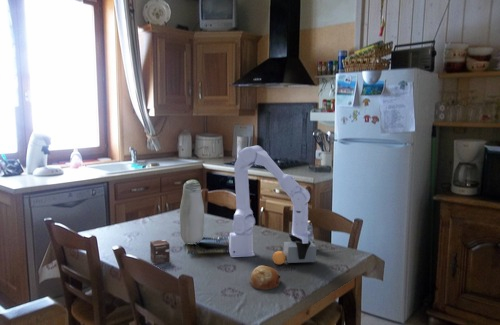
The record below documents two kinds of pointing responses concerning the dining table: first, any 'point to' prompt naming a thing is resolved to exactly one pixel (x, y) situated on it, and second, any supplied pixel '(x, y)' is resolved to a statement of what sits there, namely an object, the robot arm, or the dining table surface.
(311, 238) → the beverage can
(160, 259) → the box
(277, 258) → the ball
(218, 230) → the dining table surface
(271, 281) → the bread roll
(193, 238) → the white tall rounded cylinder
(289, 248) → the light grey cuboid
